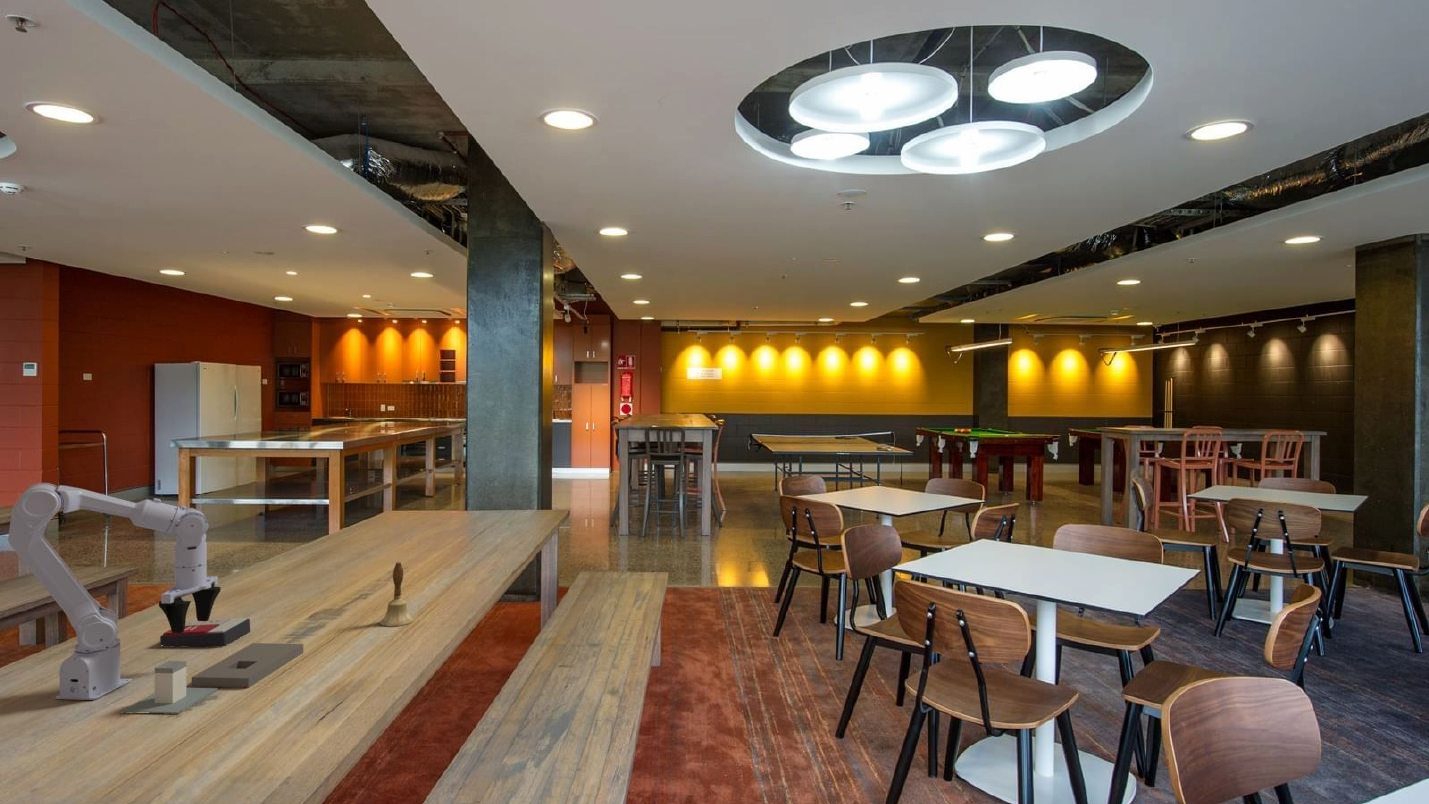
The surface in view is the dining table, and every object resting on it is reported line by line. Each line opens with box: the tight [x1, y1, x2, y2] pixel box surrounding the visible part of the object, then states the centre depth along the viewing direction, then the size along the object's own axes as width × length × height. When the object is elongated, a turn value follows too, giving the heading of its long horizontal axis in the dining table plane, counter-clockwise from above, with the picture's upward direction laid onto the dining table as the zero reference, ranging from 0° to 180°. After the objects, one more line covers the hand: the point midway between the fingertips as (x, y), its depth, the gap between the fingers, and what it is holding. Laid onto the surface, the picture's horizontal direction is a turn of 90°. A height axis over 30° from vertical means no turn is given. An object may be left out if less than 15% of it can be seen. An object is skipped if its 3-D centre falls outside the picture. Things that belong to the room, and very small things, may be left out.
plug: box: [154, 660, 187, 704], centre depth 145 cm, size 4×4×7 cm
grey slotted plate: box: [191, 642, 304, 689], centre depth 162 cm, size 20×12×2 cm, turn 0°
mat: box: [120, 687, 219, 715], centre depth 145 cm, size 11×11×1 cm
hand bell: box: [379, 561, 414, 628], centre depth 195 cm, size 8×8×16 cm
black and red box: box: [159, 617, 251, 647], centre depth 180 cm, size 11×4×15 cm
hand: (190, 626), depth 160 cm, fingers open, 7 cm apart
